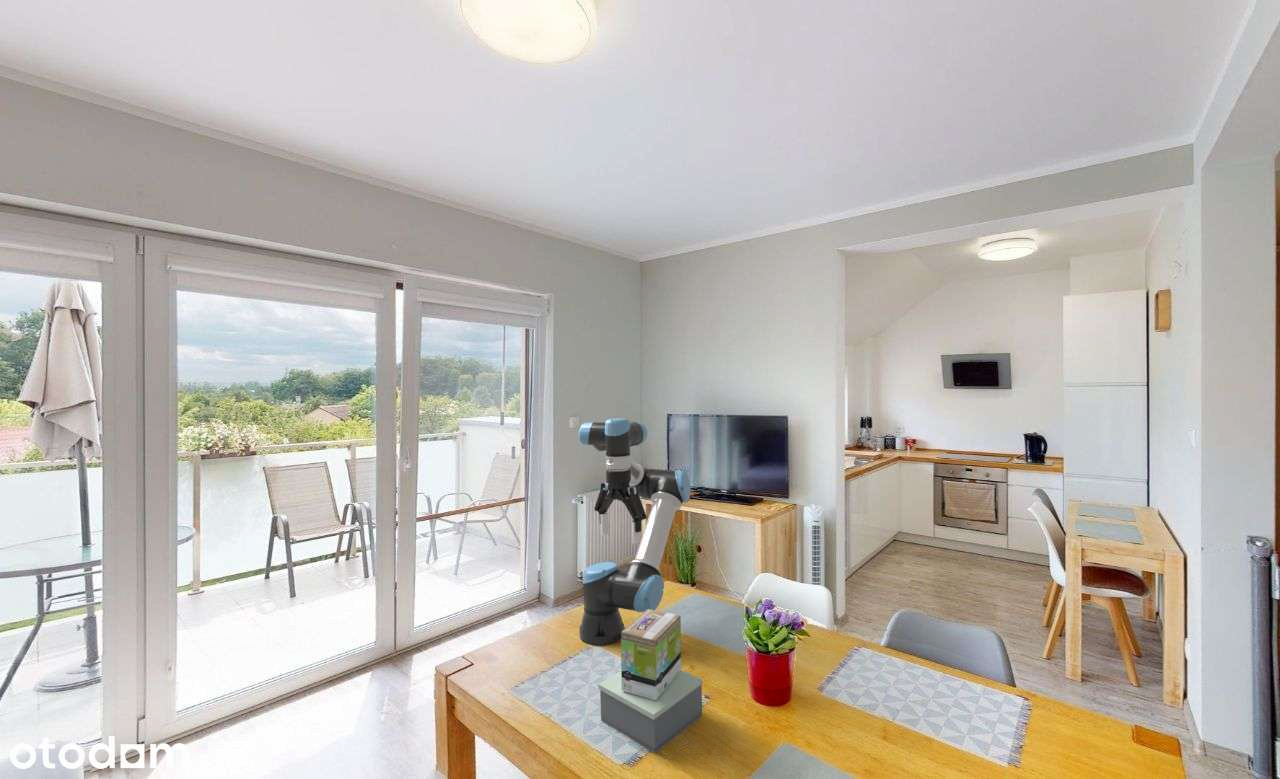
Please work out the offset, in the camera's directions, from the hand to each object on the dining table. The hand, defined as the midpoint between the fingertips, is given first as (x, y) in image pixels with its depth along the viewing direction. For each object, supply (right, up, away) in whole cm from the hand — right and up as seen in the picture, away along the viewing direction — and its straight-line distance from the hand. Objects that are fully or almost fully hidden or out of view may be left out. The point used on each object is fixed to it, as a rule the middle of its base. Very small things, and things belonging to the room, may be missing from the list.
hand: (620, 538), depth 161 cm
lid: (+9, -29, -29) cm, 42 cm away
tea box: (+9, -28, -29) cm, 41 cm away
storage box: (+9, -37, -29) cm, 48 cm away
